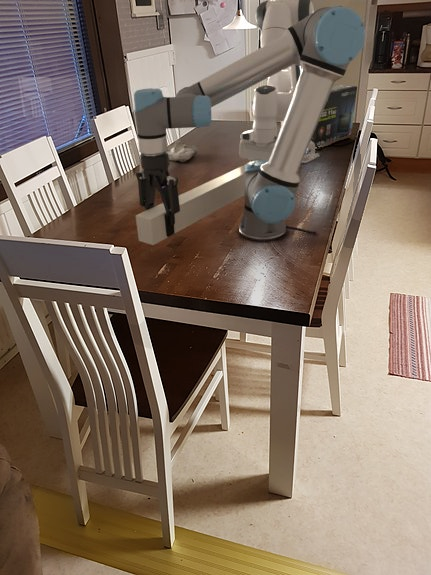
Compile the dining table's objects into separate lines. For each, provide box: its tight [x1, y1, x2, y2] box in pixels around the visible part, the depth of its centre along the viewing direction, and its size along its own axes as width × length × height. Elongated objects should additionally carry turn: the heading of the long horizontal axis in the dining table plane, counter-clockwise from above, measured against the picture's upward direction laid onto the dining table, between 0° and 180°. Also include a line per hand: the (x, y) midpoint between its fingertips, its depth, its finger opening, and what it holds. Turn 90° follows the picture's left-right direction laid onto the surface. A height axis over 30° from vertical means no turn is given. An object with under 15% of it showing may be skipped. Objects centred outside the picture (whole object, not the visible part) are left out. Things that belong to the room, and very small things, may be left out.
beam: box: [135, 160, 258, 246], centre depth 152 cm, size 72×6×8 cm, turn 144°
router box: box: [311, 84, 358, 146], centre depth 238 cm, size 36×11×27 cm, turn 134°
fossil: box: [166, 142, 199, 163], centre depth 229 cm, size 18×11×15 cm
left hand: (162, 232), depth 134 cm, fingers closed on beam, 6 cm apart
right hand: (264, 173), depth 172 cm, fingers closed on beam, 5 cm apart
